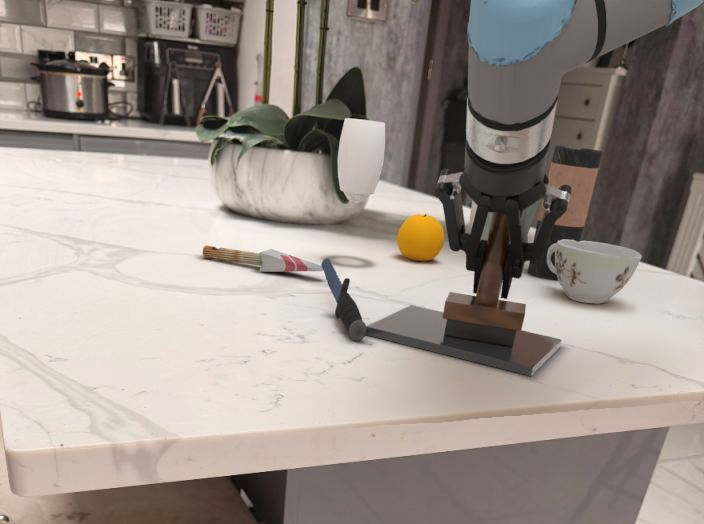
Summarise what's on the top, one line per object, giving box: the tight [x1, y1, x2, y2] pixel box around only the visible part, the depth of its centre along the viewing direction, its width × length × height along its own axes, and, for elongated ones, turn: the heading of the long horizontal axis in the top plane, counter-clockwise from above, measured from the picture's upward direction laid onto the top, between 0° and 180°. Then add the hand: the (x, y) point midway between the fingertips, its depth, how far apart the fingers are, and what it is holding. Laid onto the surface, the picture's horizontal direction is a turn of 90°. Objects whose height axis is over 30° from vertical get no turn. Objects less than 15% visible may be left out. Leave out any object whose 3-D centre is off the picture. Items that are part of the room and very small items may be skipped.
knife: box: [320, 257, 367, 342], centre depth 96 cm, size 24×2×5 cm, turn 10°
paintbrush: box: [202, 245, 324, 273], centre depth 113 cm, size 4×3×20 cm
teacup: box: [547, 239, 643, 305], centre depth 117 cm, size 15×12×8 cm
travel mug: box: [527, 145, 603, 281], centre depth 127 cm, size 8×8×20 cm
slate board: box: [365, 304, 563, 377], centre depth 91 cm, size 20×14×1 cm
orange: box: [396, 213, 445, 262], centre depth 131 cm, size 8×8×8 cm
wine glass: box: [336, 117, 386, 205], centre depth 120 cm, size 7×7×21 cm
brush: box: [442, 212, 527, 346], centre depth 87 cm, size 9×5×14 cm, turn 75°
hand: (492, 286), depth 91 cm, fingers closed on brush, 3 cm apart
